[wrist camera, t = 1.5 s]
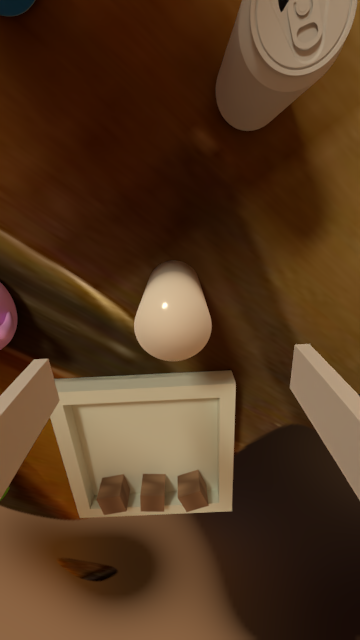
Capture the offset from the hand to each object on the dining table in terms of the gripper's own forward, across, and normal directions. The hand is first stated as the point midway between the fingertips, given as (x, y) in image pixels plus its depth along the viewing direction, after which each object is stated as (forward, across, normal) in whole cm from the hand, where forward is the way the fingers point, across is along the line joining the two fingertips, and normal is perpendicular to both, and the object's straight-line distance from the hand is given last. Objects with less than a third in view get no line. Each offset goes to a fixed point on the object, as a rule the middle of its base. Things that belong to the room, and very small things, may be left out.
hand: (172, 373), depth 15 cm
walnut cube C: (+18, +1, -32) cm, 37 cm away
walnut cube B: (+18, -5, -32) cm, 37 cm away
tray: (+19, -5, -24) cm, 31 cm away
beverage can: (+19, +8, +18) cm, 27 cm away
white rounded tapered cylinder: (+19, 0, 0) cm, 19 cm away
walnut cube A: (+18, -11, -32) cm, 38 cm away
